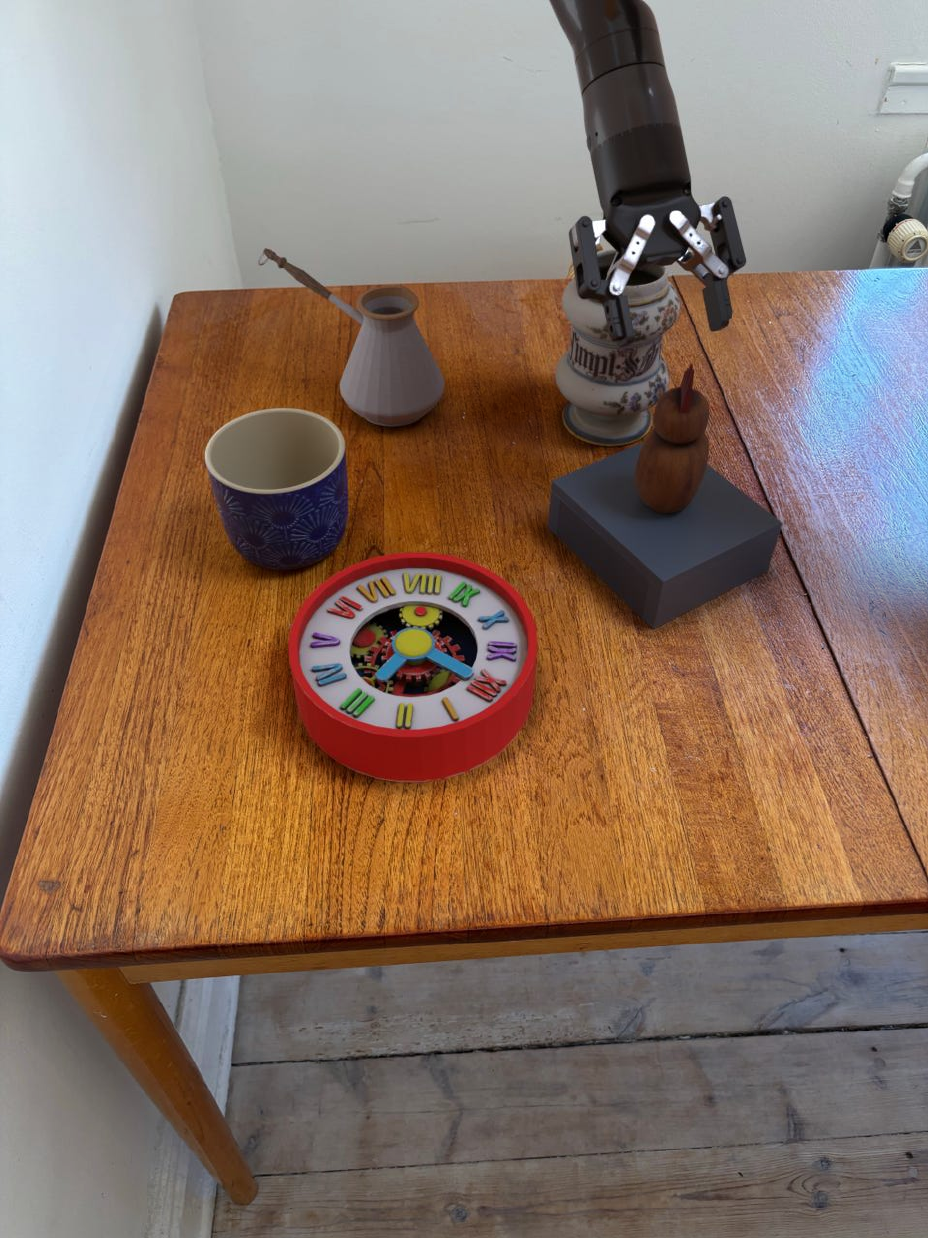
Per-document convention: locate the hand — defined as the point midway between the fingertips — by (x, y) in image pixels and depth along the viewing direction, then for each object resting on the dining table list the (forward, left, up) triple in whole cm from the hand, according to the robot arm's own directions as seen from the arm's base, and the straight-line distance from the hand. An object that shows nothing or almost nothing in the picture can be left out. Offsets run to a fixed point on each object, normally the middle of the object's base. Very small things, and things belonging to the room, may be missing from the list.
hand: (674, 336), depth 84 cm
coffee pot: (+13, -35, -21) cm, 43 cm away
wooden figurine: (+1, +3, -15) cm, 15 cm away
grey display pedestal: (+1, +3, -21) cm, 21 cm away
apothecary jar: (-8, -16, -21) cm, 28 cm away
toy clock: (+29, +5, -21) cm, 36 cm away
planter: (+30, -17, -21) cm, 40 cm away
